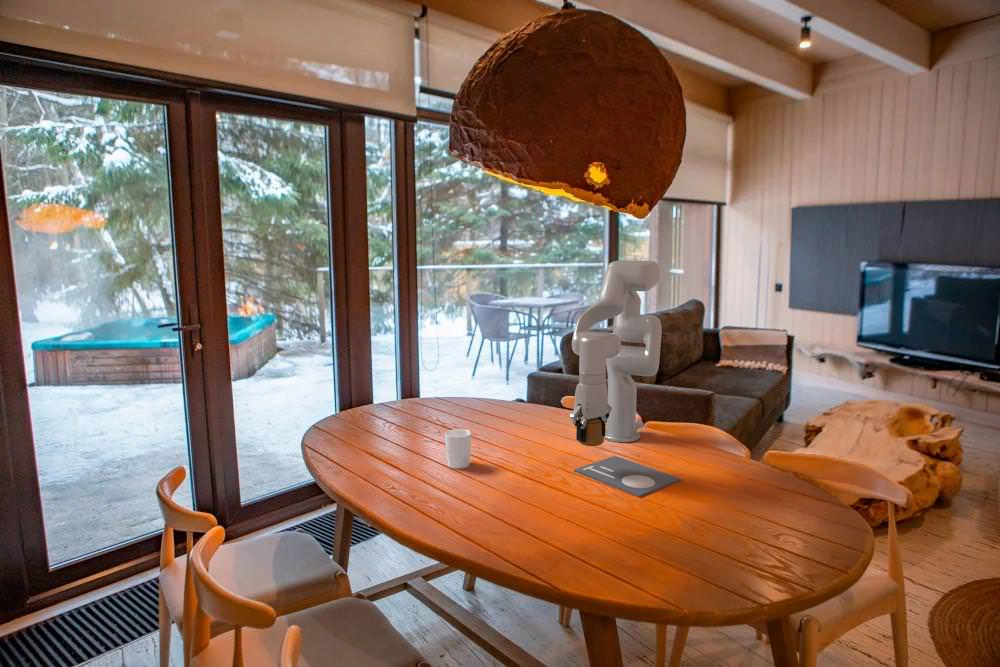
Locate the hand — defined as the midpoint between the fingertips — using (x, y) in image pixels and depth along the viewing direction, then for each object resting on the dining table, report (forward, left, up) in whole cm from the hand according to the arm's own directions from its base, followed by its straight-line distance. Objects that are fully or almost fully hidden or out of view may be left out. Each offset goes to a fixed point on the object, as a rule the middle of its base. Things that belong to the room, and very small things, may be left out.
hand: (590, 438), depth 181 cm
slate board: (-5, +9, -10) cm, 15 cm away
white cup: (+27, -29, -10) cm, 41 cm away
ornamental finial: (0, 0, -2) cm, 2 cm away
